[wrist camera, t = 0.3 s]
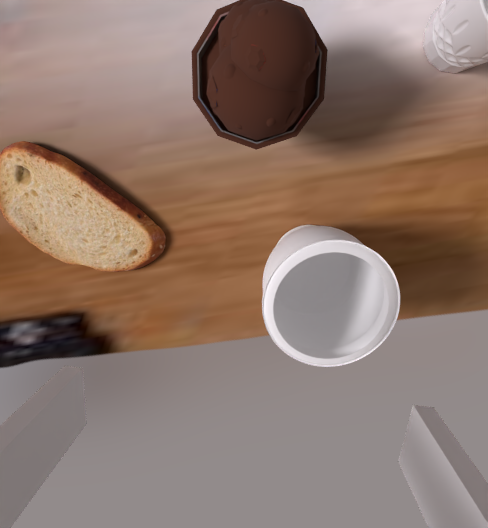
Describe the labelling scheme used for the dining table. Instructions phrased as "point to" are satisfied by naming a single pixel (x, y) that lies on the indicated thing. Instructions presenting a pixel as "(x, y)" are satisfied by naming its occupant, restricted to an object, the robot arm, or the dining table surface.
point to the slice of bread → (73, 212)
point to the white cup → (457, 35)
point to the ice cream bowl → (259, 71)
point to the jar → (328, 296)
